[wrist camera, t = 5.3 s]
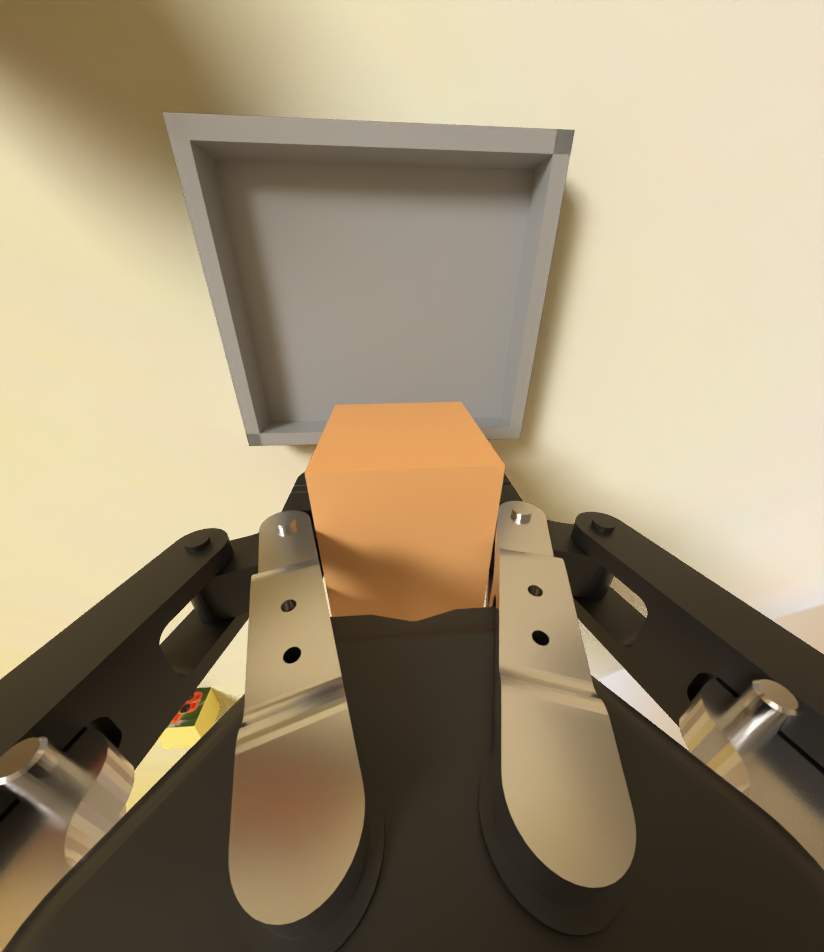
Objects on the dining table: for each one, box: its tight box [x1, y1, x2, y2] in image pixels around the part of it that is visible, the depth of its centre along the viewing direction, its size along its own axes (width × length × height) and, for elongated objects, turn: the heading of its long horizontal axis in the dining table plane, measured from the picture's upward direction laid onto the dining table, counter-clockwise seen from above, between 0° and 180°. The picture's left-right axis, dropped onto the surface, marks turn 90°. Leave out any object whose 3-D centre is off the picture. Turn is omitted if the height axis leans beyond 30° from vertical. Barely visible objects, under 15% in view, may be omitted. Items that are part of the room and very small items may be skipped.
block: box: [305, 402, 505, 621], centre depth 11 cm, size 4×6×5 cm
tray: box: [162, 112, 575, 446], centre depth 14 cm, size 13×11×2 cm
